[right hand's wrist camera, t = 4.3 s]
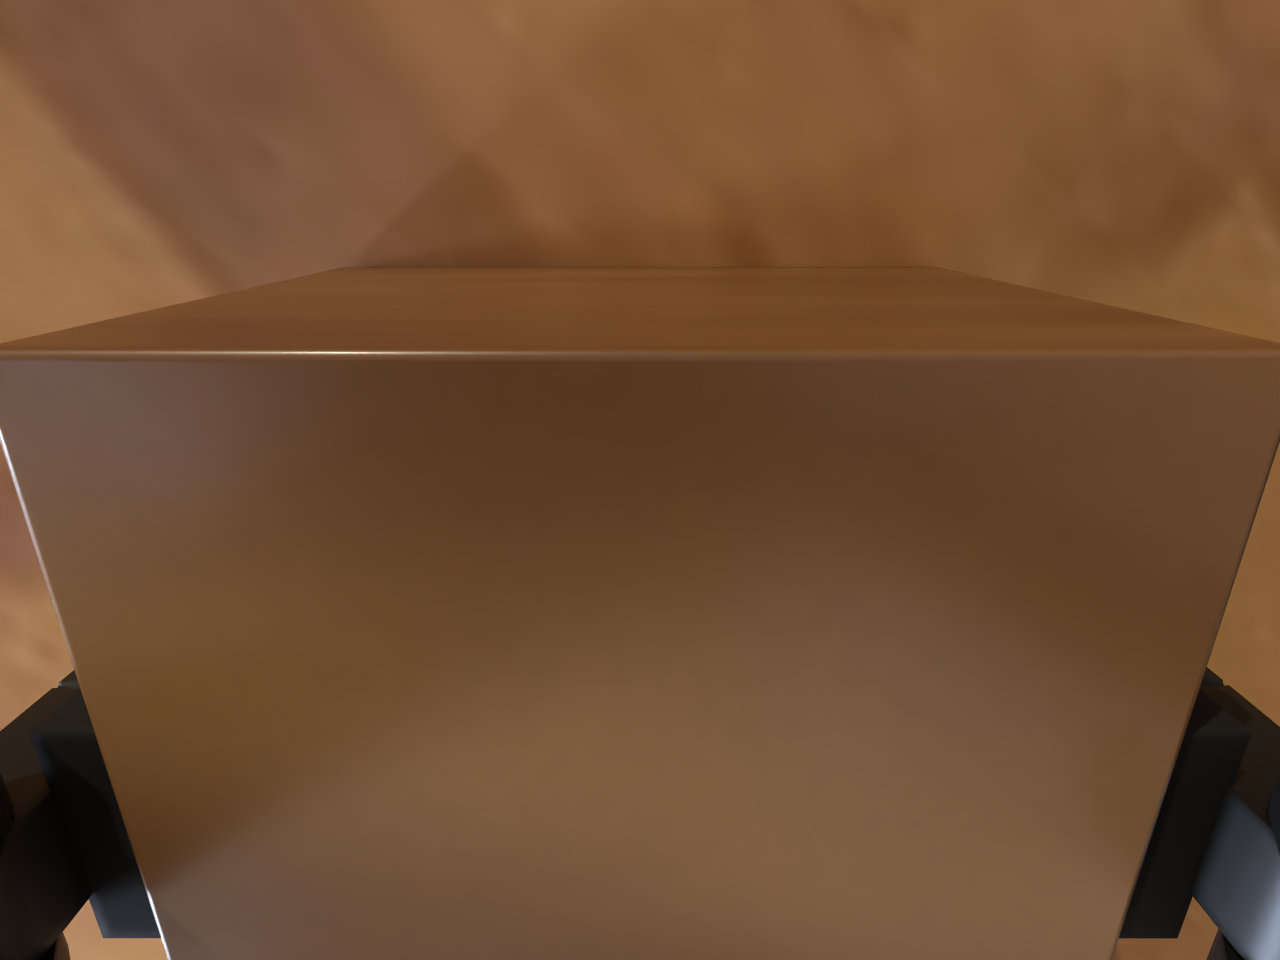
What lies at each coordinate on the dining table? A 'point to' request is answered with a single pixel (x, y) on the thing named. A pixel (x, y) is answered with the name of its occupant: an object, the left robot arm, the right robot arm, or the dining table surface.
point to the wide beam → (640, 604)
